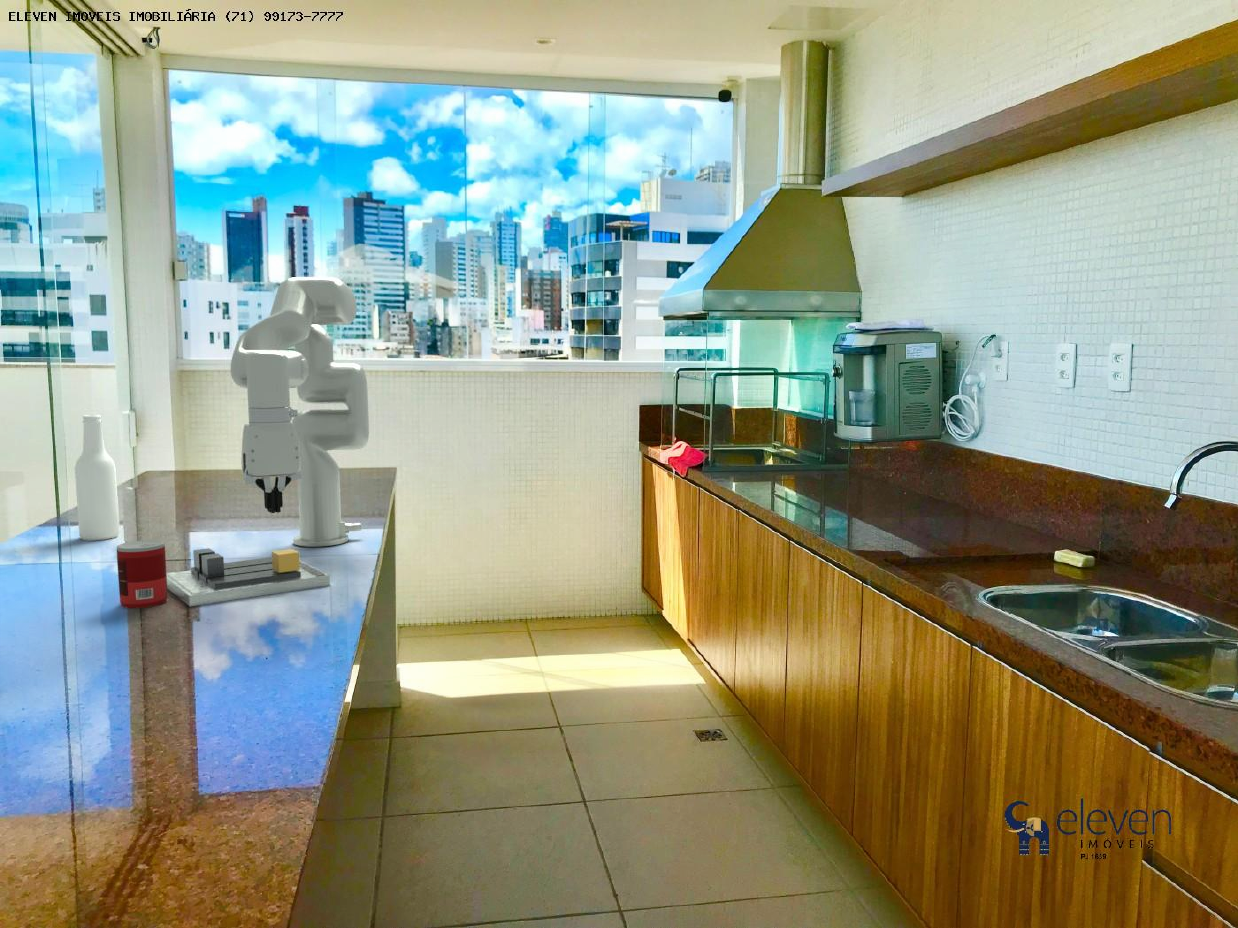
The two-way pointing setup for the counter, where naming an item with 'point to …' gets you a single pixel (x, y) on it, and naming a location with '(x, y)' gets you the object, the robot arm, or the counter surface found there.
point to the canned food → (142, 573)
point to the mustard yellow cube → (285, 560)
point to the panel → (238, 579)
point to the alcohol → (96, 486)
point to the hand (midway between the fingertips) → (273, 511)
